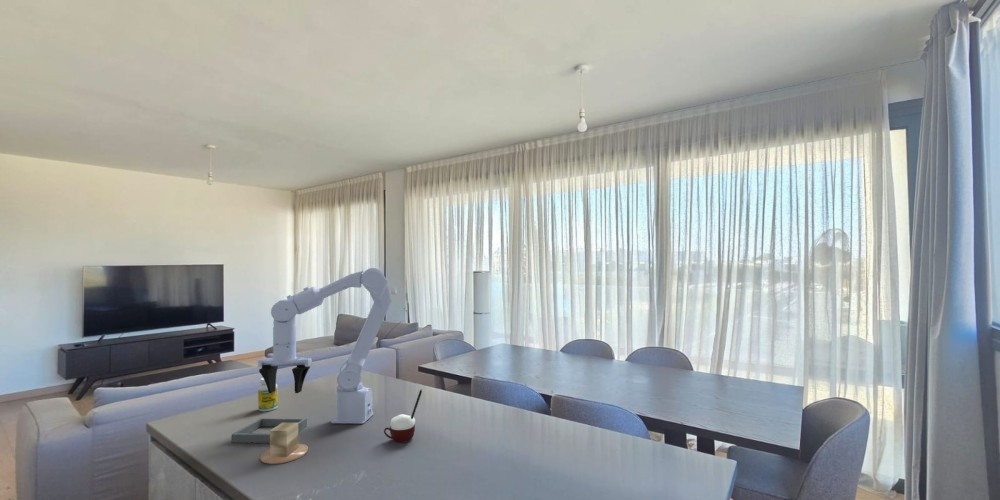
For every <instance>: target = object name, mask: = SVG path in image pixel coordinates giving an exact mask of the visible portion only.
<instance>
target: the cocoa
mask: <svg viewBox="0 0 1000 500" xmlns="http://www.w3.org/2000/svg"><path fill="white" fill-rule="evenodd" d="M422 393H423V390H422V389H419V392H418V395H417V398H416V400H415V404H414V407H413V411H412V413H411V415H408V414H398V415H396V416H394V417H392V418H390V425H389V427H385V428H384V429H383V433H384V435H385V436H386V438H388V439H390V440H393V441H394V442H395V443H399V444H401V443H403V444H404V443H407V442H409V441H411V439H413V437H414V435H415V430H416V419H415V417H414V416H415V414H416V410H417V408H418V404H419V402H420V400H421V396H422ZM387 430H389V432H390V435H389V434H388V433H387V432H386V431H387Z"/></svg>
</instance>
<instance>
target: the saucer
mask: <svg viewBox="0 0 1000 500" xmlns="http://www.w3.org/2000/svg"><path fill="white" fill-rule="evenodd" d="M308 450H309V447H308V446H307V445H306V444H304V443H299V442H298V448H297V449H296V450H295V451H294V452H292V453H291V454H290V455H289V456H288V457H270V448H269V449H266V450H265V451H264V452H262V453H261V455H260V461H261V462H262V463H263V462H264V463H263V464H266V463H267V464H266V465H279V464H280V465H281V464H285V463H290V462H293V461H296V460H298V459H300V458H302V457H304V456H306V455H307V453H308V452H309V451H308Z"/></svg>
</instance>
